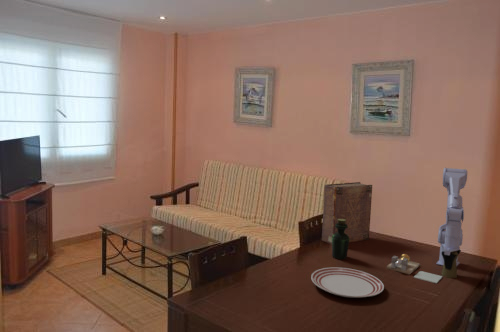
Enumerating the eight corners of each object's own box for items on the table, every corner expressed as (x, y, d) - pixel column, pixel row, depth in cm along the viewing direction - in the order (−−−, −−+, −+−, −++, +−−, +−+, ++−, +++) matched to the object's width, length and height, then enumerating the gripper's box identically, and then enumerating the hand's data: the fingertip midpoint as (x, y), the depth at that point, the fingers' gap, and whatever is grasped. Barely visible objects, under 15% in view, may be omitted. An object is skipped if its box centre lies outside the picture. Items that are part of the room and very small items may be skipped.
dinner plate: (384, 280, 172) (385, 272, 171) (382, 309, 146) (382, 300, 146) (317, 270, 181) (318, 263, 180) (303, 296, 155) (304, 287, 155)
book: (356, 234, 236) (360, 181, 232) (369, 239, 228) (372, 184, 224) (321, 240, 223) (324, 184, 219) (333, 245, 215) (336, 187, 212)
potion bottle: (350, 256, 199) (353, 219, 197) (344, 261, 192) (347, 223, 190) (334, 253, 203) (336, 216, 201) (328, 257, 197) (330, 220, 194)
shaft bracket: (397, 260, 196) (398, 248, 195) (419, 265, 190) (420, 253, 189) (386, 268, 185) (387, 256, 184) (409, 274, 179) (410, 261, 178)
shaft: (400, 261, 190) (401, 252, 190) (409, 263, 188) (410, 254, 187) (391, 268, 181) (392, 259, 181) (401, 270, 179) (401, 261, 179)
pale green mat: (420, 271, 182) (420, 270, 182) (442, 277, 177) (442, 276, 177) (413, 277, 175) (413, 276, 175) (436, 283, 170) (436, 282, 170)
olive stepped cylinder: (458, 278, 176) (461, 253, 175) (443, 277, 177) (445, 251, 176) (454, 273, 182) (457, 248, 180) (439, 271, 183) (442, 247, 182)
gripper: (447, 231, 185) (444, 260, 187) (437, 237, 174) (435, 269, 176) (464, 234, 181) (461, 264, 183) (456, 241, 170) (453, 274, 172)
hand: (449, 267), depth 179 cm, fingers closed on olive stepped cylinder, 5 cm apart
